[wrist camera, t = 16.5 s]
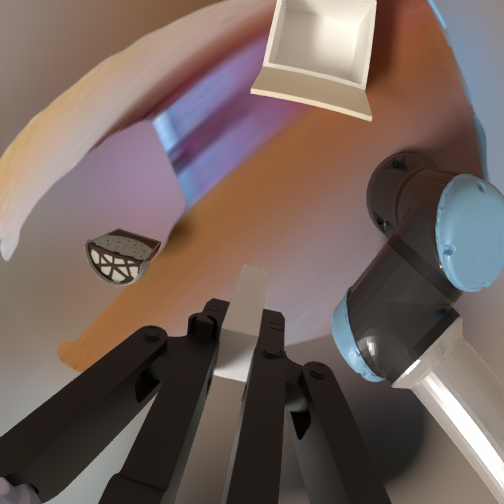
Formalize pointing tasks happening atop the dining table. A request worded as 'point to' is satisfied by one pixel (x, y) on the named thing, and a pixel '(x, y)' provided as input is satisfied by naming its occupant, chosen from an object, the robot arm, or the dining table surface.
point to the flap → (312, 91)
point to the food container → (120, 256)
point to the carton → (323, 39)
